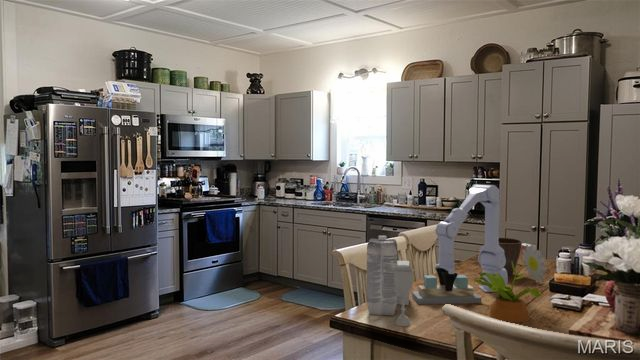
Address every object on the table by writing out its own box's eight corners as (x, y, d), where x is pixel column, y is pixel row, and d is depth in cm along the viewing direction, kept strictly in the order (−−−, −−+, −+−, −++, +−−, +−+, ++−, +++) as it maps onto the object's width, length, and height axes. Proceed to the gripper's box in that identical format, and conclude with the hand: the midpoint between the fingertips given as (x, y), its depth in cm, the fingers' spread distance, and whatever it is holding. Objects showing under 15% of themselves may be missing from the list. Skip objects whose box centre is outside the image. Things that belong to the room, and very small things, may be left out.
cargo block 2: (464, 285, 194) (464, 275, 193) (467, 287, 190) (467, 277, 189) (454, 285, 193) (454, 275, 193) (457, 288, 189) (457, 277, 189)
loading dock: (472, 295, 197) (472, 290, 197) (481, 303, 187) (481, 297, 187) (411, 296, 196) (412, 291, 196) (417, 303, 186) (417, 298, 186)
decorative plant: (561, 325, 162) (563, 249, 161) (494, 331, 157) (495, 252, 156) (512, 302, 188) (513, 236, 187) (454, 306, 183) (454, 238, 182)
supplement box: (409, 305, 184) (409, 265, 183) (384, 304, 186) (384, 264, 185) (409, 298, 193) (410, 260, 192) (386, 297, 195) (386, 259, 194)
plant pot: (528, 275, 230) (528, 241, 230) (508, 279, 222) (508, 244, 221) (500, 269, 243) (500, 236, 242) (480, 273, 234) (480, 239, 234)
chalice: (390, 320, 168) (390, 267, 167) (410, 319, 168) (410, 266, 167) (395, 327, 160) (395, 272, 160) (416, 327, 161) (416, 271, 160)
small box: (515, 264, 255) (516, 243, 255) (525, 263, 257) (525, 243, 256) (526, 267, 247) (527, 246, 247) (536, 266, 249) (536, 245, 249)
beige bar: (469, 292, 194) (469, 284, 194) (473, 296, 189) (473, 288, 189) (418, 293, 194) (418, 285, 193) (421, 296, 189) (421, 288, 188)
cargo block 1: (434, 285, 193) (434, 275, 193) (436, 288, 189) (436, 277, 189) (423, 285, 193) (423, 275, 193) (426, 288, 189) (426, 278, 189)
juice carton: (396, 317, 171) (397, 238, 170) (366, 315, 173) (366, 238, 171) (397, 309, 180) (397, 234, 178) (368, 307, 181) (368, 234, 180)
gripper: (431, 249, 198) (430, 283, 198) (441, 257, 183) (440, 293, 184) (448, 249, 198) (448, 283, 199) (460, 256, 184) (459, 293, 184)
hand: (445, 288), depth 191 cm, fingers open, 7 cm apart
